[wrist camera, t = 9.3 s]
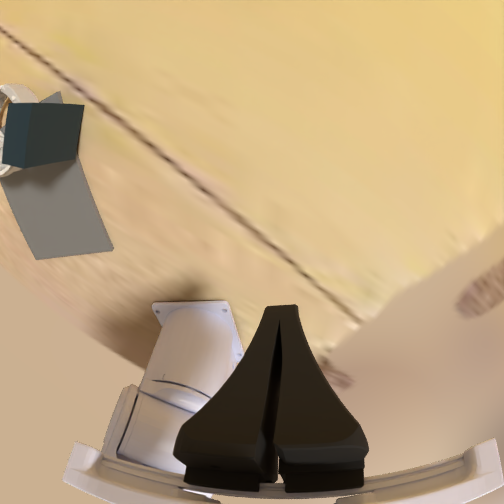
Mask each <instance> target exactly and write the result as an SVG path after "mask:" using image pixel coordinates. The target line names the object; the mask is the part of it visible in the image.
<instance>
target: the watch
mask: <svg viewBox="0 0 504 504" xmlns="http://www.w3.org/2000/svg"><path fill="white" fill-rule="evenodd" d="M7 97H9V98H10V100H11V101H12V103H9V106H8V111H7V118H6V125H5V133H4V135H3V133H2V132H1V131H0V177H5V176H8V175H10V174H12V173H13V172H15V171H20V170H22V169H26V168H31V167H36V166H41V165H46V164H51V163H56V162H62V161H68V160H74V159H75V158H76V150H77V143H78V137H79V131H80V125H81V119H82V114H83V109H84V105H76V104H60V103H39V101H38V99H37V97H36V96H35V94H34V93H33V92H32V91H31V90H30V89H29V88H28V87H26V86H24V85H22V84H5V85H1V86H0V112H1V108H2V106H3V104H4V102H5V100H6V98H7Z"/></svg>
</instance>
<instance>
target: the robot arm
mask: <svg viewBox="0 0 504 504" xmlns="http://www.w3.org/2000/svg"><path fill="white" fill-rule="evenodd" d="M152 309H153V311H154V313H155V315H156V317H157V319H158V321H159V323H160V325H161V327H162V329H161V332H160V334H159V337H158V339H157V342H156V344H155V347H154V350H153V352H152V355H151V358H150V360H149V363H148V365H147V368H146V371H145V374H144V376H143V379H142V382H141V384H140V386H139V387H137V386H135V385H133V384H131V385H130V386H128V387H125V388H123V390H122V393H121V395H120V397H119V400H118V402H117V405H116V407H115V410H114V412H113V415H112V418H111V420H110V423H109V426H108V429H107V432H106V435H105V438H104V445H103V448H102V451H101V452H100V451H99V450H97V449H95V448H93V447H91V446H88V445H86V444H83V443H80V442H78V441H76V442H75V444H74V447H73V450H72V452H71V455H70V458H69V461H68V464H67V466H66V469H65V472H64V475H63V478H62V480H63V481H64V482H66V483H68V484H70V485H72V486H74V487H76V488H78V489H80V490H82V491H84V492H86V493H89V494H91V495H93V496H95V497H97V498H100V499H102V500H104V501H107V502H109V503H112V504H220V501H217V500H214V499H211V497H212V495H213V494H217V495H225V496H235V497H248V498H264V499H266V498H267V499H309V498H326V497H337V496H347V495H354V496H350V497H344V498H338V499H337V500H336V503H334V504H464V503H467V502H469V501H472V500H474V499H476V498H478V497H480V496H483V495H485V494H487V493H489V492H491V491H493V490H495V489H497V488H499V487H501V486H503V484H504V481H503V474H502V469H501V463H500V458H499V453H498V449H497V443H496V439H495V438H491V439H489V440H487V441H484V442H482V443H479V444H477V445H474V446H472V447H470V448H469V449H467V450H466V451H465V452H464V453H462V454H460V455H456V456H454V457H450V458H447V459H444V460H441V461H438V462H434V463H431V464H427V465H424V466H420V467H416V468H412V469H407V470H403V471H398V472H393V473H388V474H383V475H377V476H371V477H365V478H364V472H363V471H364V470H363V469H364V467H365V465H364V458H365V456H366V455H367V453H368V451H369V447H368V442H367V439H366V437H365V435H364V432H363V430H362V428H361V426H360V424H359V423H358V422H357V420H356V419H355V418H354V417H353V416H352V415H351V413H350V412H349V411H348V410H347V409H346V407H345V406H344V405H343V403H342V402H341V401H340V399H339V398H338V396H337V395H336V393H335V392H334V391H333V389H332V388H331V386H330V385H329V383H328V381H327V380H326V378H325V376H324V375H323V373H322V371H321V369H320V368H319V366H318V364H317V362H316V360H315V358H314V356H313V354H312V351H311V349H310V347H309V345H308V342H307V340H306V337H305V334H304V332H303V329H302V325H301V322H300V318H299V313H298V306H297V305H295V304H294V305H279V306H267V307H266V308H265V310H264V314H263V317H262V319H261V322H260V324H259V327H258V329H257V331H256V333H255V335H254V337H253V339H252V341H251V343H250V345H249V347H248V349H247V350H246V352H245V354H244V350H243V347H242V344H241V341H240V338H239V335H238V332H237V328H236V325H235V322H234V319H233V315H232V312H231V309H230V306H229V303H228V302H227V301H224V300H220V301H194V302H155V303H153V304H152ZM224 309H226V310H224ZM237 362H239V364H238V365H237V367H236V364H237ZM278 456H279V469H278ZM278 474H280V475H281V477H282V479H283V481H284V482H283V483H275V482H276V481H277V480H278ZM369 492H371V493H369ZM363 493H365V494H363ZM355 494H359V495H355Z"/></svg>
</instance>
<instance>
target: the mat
mask: <svg viewBox="0 0 504 504" xmlns="http://www.w3.org/2000/svg"><path fill="white" fill-rule="evenodd" d="M39 103H60V104H63V101H62V97H61V93H60V91H59V92H56V93H54V94H53V95H51V96H49V97H48V98H46V99H44V100H43V101H41V102H39ZM0 131H1V132H2V133H3V135H4V133H5V126H4V127H2V128H1V129H0ZM0 182H1V185H2V187H3V190H4V192H5V195H6V197H7V200H8V202H9V205H10V207H11V209H12V212H13V214H14V216H15V218H16V221H17V223H18V225H19V227H20V229H21V231H22V233H23V236H24V238H25V240H26V242H27V244H28V246H29V248H30V249H31V251H32V253H33V255H34V257H35V259H36V260H40V259H48V258H56V257H65V256H73V255H81V254H90V253H99V252H107V251H112V250H113V249H114V247H113V245H112V243H111V241H110V238H109V236H108V234H107V231H106V229H105V227H104V224H103V222H102V219H101V217H100V214H99V212H98V209H97V207H96V204H95V202H94V199H93V197H92V194H91V191H90V189H89V186H88V183H87V180H86V178H85V175H84V172H83V169H82V166H81V163H80V160H79V157H78V154H77V151H76V158H75V159H74V160H68V161H62V162H56V163H51V164H46V165H41V166H36V167H31V168H26V169H22V170H20V171H15V172H13V173H12V174H10V175H8V176H5V177H0Z"/></svg>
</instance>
